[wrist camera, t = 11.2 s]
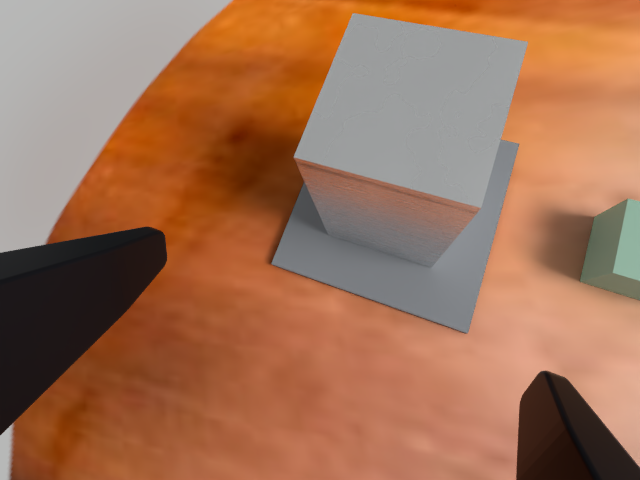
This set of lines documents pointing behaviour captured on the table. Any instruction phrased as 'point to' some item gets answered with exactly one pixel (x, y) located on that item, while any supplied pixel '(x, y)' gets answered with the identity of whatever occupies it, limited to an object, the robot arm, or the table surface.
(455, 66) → the silver grey block
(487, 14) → the table surface
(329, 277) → the rubber mat
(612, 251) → the pale green block
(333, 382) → the table surface
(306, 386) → the table surface
